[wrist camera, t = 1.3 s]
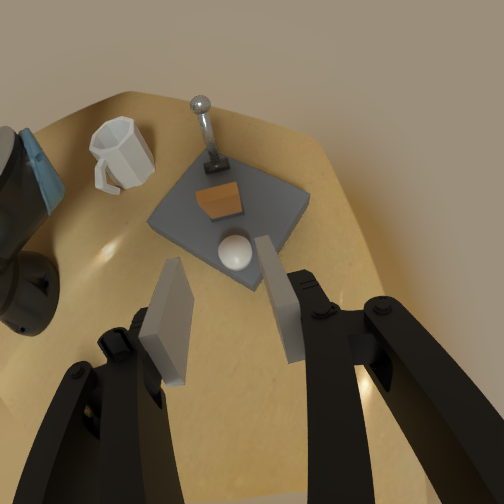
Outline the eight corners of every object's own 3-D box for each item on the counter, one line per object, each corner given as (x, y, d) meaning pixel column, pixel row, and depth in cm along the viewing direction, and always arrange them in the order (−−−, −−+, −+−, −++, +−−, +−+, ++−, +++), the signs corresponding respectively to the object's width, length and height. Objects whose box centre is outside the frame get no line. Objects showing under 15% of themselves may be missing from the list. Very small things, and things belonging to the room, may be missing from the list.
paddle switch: (212, 223, 39) (196, 207, 27) (209, 210, 39) (192, 189, 27) (244, 215, 39) (241, 195, 27) (241, 202, 39) (237, 178, 27)
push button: (224, 274, 36) (221, 269, 34) (218, 245, 37) (215, 239, 35) (256, 267, 36) (254, 261, 34) (248, 238, 37) (247, 231, 35)
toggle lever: (206, 178, 41) (183, 103, 31) (205, 168, 42) (183, 96, 32) (231, 172, 41) (213, 96, 31) (228, 162, 42) (211, 89, 32)
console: (153, 230, 42) (146, 221, 40) (210, 159, 46) (206, 147, 44) (254, 291, 38) (252, 286, 35) (308, 204, 42) (310, 193, 39)
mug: (124, 152, 49) (103, 118, 40) (162, 152, 48) (144, 114, 39) (99, 206, 45) (69, 175, 36) (138, 210, 44) (111, 175, 35)
